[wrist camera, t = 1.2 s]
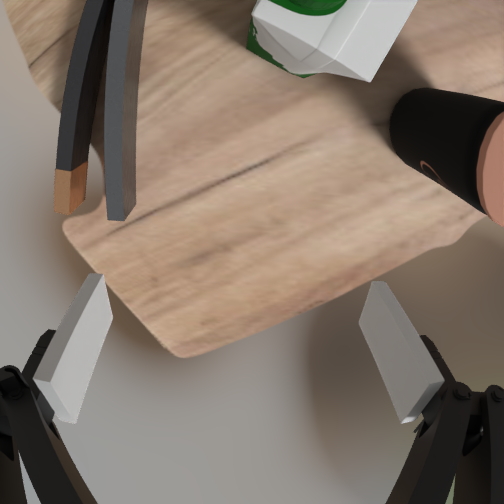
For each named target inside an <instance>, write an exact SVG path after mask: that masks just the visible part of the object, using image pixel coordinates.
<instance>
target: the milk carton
mask: <svg viewBox="0 0 504 504" xmlns="http://www.w3.org/2000/svg"><path fill="white" fill-rule="evenodd" d="M417 1H418V0H257V2H256V4H255V7H254V9H253V11H252V13H251V15H252V19H251V23H250V28H249V34H248V41H247V47H246V49H248V50H249V51H251V52H253V53H254V54H256V55H258V56H259V57H261V58H263V59H265V60H266V61H268V62H270V63H272V64H274V65H276V66H277V67H279V68H281V69H283V70H285V71H287V72H289V73H291V74H293V75H297V76H299V77H302V78H306V77H309V76H311V75H314V74H317V73H322V72H326V73H332V74H337V75H341V76H346V77H351V78H355V79H359V80H363V81H367V82H371V80H372V79H373V77H374V75H375V74H376V72H377V70H378V69H379V67H380V65H381V63H382V62H383V60H384V58H385V57H386V55H387V53H388V51H389V50H390V48H391V46H392V44H393V43H394V41H395V39H396V38H397V36H398V34H399V32H400V31H401V29H402V27H403V25H404V24H405V22H406V20H407V18H408V17H409V15H410V13H411V11H412V10H413V8H414V6H415V4H416V3H417Z"/></svg>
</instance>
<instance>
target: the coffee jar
mask: <svg viewBox="0 0 504 504" xmlns="http://www.w3.org/2000/svg"><path fill="white" fill-rule="evenodd" d="M389 130H390V136H391V141H392V144H393V147H394V149H395V151H396V153H397V155H398V156H399V157H400V158H401V159H402V160H403V161H404V163H405V164H407V165H408V166H410V167H412V168H414V169H415V170H417V171H419V172H420V173H422V174H424V175H425V176H427V177H429V178H430V179H432V180H433V181H435V182H437V183H438V184H440V185H441V186H443V187H445V188H446V189H448V190H449V191H451V192H452V193H454V194H455V195H457V196H458V197H460V198H461V199H463V200H464V201H466V202H467V203H469V204H470V205H471V206H473V207H474V208H476V209H477V210H479V211H481V212H482V213H484V214H486V215H488V217H489V218H490V219H491V220H493V221H494V222H496V223H497V224H499V225H500V226H502V227H504V102H501V101H496V100H492V99H488V98H483V97H478V96H473V95H468V94H463V93H457V92H451V91H445V90H438V89H431V88H419V89H413V90H412V91H410V92H408V93H406V94H405V95H403V96H402V98H401V99H400V100H399V101H398V102H397V104H396V105H395V107H394V110H393V112H392V115H391V119H390V129H389Z"/></svg>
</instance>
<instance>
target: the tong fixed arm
mask: <svg viewBox="0 0 504 504" xmlns="http://www.w3.org/2000/svg"><path fill="white" fill-rule="evenodd" d="M147 4H148V0H115V3H114V9H113V16H112V23H111V31H110V40H109V49H108V59H107V72H106V87H105V112H104V163H105V188H106V205H107V218H108V220H114V221H125V219H126V218H127V216H128V215H129V214H130V212H131V211H132V209H133V208H134V207H135V205H136V119H137V99H138V84H139V71H140V60H141V50H142V41H143V32H144V24H145V17H146V10H147Z"/></svg>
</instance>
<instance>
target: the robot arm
mask: <svg viewBox="0 0 504 504" xmlns="http://www.w3.org/2000/svg"><path fill="white" fill-rule="evenodd" d="M112 319H113V316H112V311H111V307H110V303H109V298H108V294H107V290H106V285H105V280H104V275H103V274H92V273H89V275H88V277H87V278H86V280H85V281H84V283H83V285H82V286H81V288H80V290H79V292H78V293H77V295H76V297H75V298H74V300H73V302H72V304H71V305H70V307H69V309H68V311H67V313H66V314H65V316H64V318H63V320H62V322H61V323H60V325H59V327H58V329H57V330H50V329H48V330H47V331H46V332H45V333H44V334H43V335H42V336H41V337H40V338H39V340H38V342H37V344H36V347H35V348H34V350H33V351H32V354H31V355H30V357H29V359H28V361H27V363H26V365H25V367H24V369H23V371H22V373H21V372H20V370H19V369H18V368H17V367H15V366H12V365H7V366H4V367H2V368H0V504H27V499H26V495H25V490H24V485H23V479H22V473H21V467H20V460H19V453H20V456H21V458H22V461H23V463H24V466H25V469H26V471H27V473H28V475H29V478H30V480H31V482H32V485H33V487H34V489H35V492H36V494H37V496H38V498H39V500H40V502H41V504H97V502H96V500H95V498H94V497H93V495H92V494H91V492H90V491H89V489H88V487H87V485H86V484H85V482H84V480H83V479H82V477H81V476H80V473H79V472H78V470H77V468H76V466H75V464H74V463H73V461H72V459H71V457H70V455H69V453H68V451H67V449H66V447H65V445H64V443H63V441H62V439H61V437H60V434H59V432H58V430H57V428H56V426H55V424H54V422H53V421H52V419H53V416H54V413H55V414H56V415H57V417H58V418H59V420H61V421H65V422H69V423H73V424H76V422H77V418H78V415H79V412H80V409H81V405H82V402H83V399H84V396H85V393H86V390H87V387H88V384H89V381H90V378H91V375H92V373H93V370H94V367H95V364H96V361H97V359H98V356H99V353H100V350H101V348H102V345H103V342H104V340H105V337H106V335H107V332H108V329H109V327H110V324H111V322H112ZM359 325H360V327H361V330H362V332H363V334H364V337H365V339H366V341H367V343H368V346H369V348H370V350H371V352H372V355H373V357H374V359H375V362H376V364H377V366H378V369H379V371H380V373H381V376H382V378H383V381H384V383H385V385H386V388H387V390H388V393H389V395H390V398H391V400H392V402H393V405H394V407H395V410H396V413H397V415H398V418H399V420H400V423H406V422H410V421H414V420H416V419H417V418H418V416H419V415H420V414H421V412H422V414H423V417H424V419H423V420H422V422H421V423H420V424H419V425H418V427H417V428H416V429H415V430H414V433H416V432H417V431H418V432H417V435H416V438H415V440H414V443H413V445H412V448H411V450H410V452H409V455H408V458H407V460H406V462H405V464H404V467H403V469H402V471H401V473H400V475H399V477H398V479H397V482H396V484H395V486H394V488H393V490H392V492H391V494H390V496H389V498H388V500H387V502H386V504H445V503H446V500H447V497H448V494H449V492H450V489H451V486H452V483H453V479H454V476H455V487H454V497H453V504H504V389H503V388H501V387H500V386H497V385H491V386H489V387H488V388H487V389H486V391H485V392H473V391H471V390H470V388H469V387H468V386H467V385H465V384H464V383H461V382H456V381H455V379H454V377H453V375H452V373H451V372H450V370H449V368H448V367H447V365H446V363H445V362H444V360H443V359H442V356H441V355H440V353H439V352H438V349H437V348H436V347H435V345H434V343H433V342H432V341H431V340H430V339H429V338H428V337H427V336H426V335H421V336H419V335H418V333H417V332H416V330H415V328H414V326H413V325H412V323H411V321H410V320H409V318H408V317H407V315H406V313H405V312H404V310H403V308H402V307H401V305H400V304H399V302H398V301H397V299H396V298H395V296H394V294H393V293H392V291H391V290H390V288H389V287H388V285H387V284H386V282H385V281H384V282H383V281H378V282H377V281H373V282H372V283H371V287H370V290H369V293H368V296H367V299H366V302H365V305H364V308H363V311H362V314H361V317H360V320H359ZM418 429H419V430H418ZM18 450H19V452H18ZM455 473H456V474H455Z"/></svg>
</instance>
